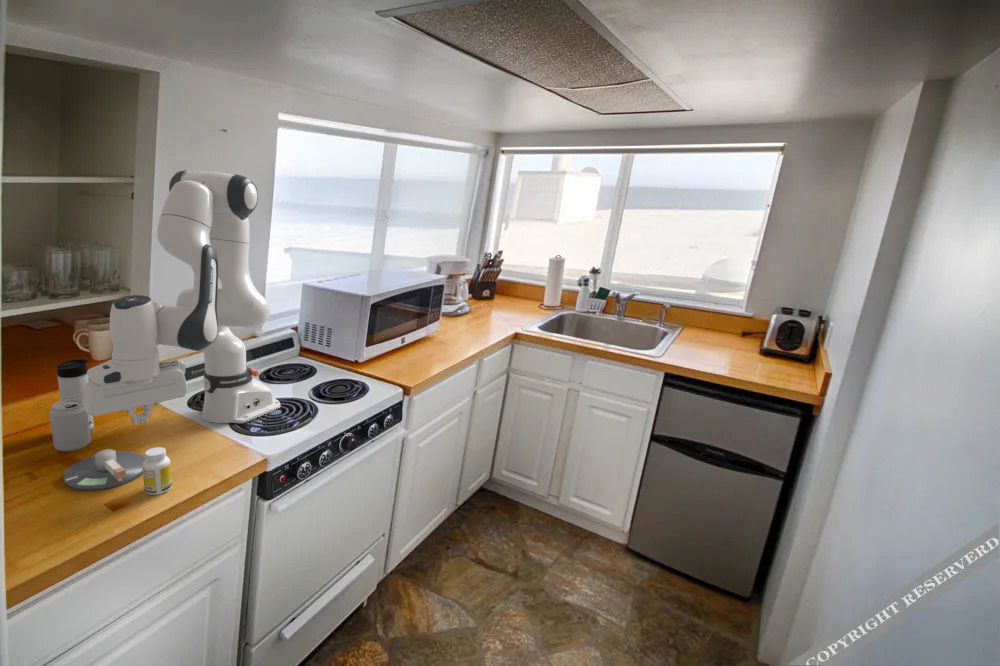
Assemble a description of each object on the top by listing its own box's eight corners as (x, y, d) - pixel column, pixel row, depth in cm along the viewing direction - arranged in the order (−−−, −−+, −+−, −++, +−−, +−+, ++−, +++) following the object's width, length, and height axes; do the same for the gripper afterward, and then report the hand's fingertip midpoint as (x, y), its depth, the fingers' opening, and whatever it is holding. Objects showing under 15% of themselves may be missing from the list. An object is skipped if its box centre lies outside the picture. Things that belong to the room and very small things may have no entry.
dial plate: (131, 449, 137) (130, 444, 137) (159, 472, 128) (158, 467, 128) (53, 472, 124) (53, 467, 124) (79, 499, 116) (78, 494, 115)
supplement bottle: (171, 480, 126) (169, 443, 123) (172, 492, 121) (169, 454, 119) (144, 485, 123) (141, 447, 120) (144, 497, 118) (140, 459, 116)
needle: (93, 466, 125) (91, 453, 124) (113, 461, 129) (111, 447, 128) (112, 484, 119) (110, 470, 118) (132, 478, 123) (130, 464, 122)
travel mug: (99, 430, 144) (92, 362, 139) (71, 438, 139) (62, 367, 134) (89, 423, 148) (81, 356, 142) (60, 431, 142) (51, 361, 137)
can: (70, 455, 131) (65, 411, 128) (46, 449, 133) (40, 406, 130) (98, 442, 139) (94, 400, 135) (75, 437, 140) (70, 395, 137)
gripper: (178, 355, 130) (181, 407, 134) (77, 372, 114) (83, 430, 117) (191, 362, 127) (193, 415, 130) (88, 379, 111) (94, 440, 114)
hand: (140, 422), depth 124 cm, fingers closed
